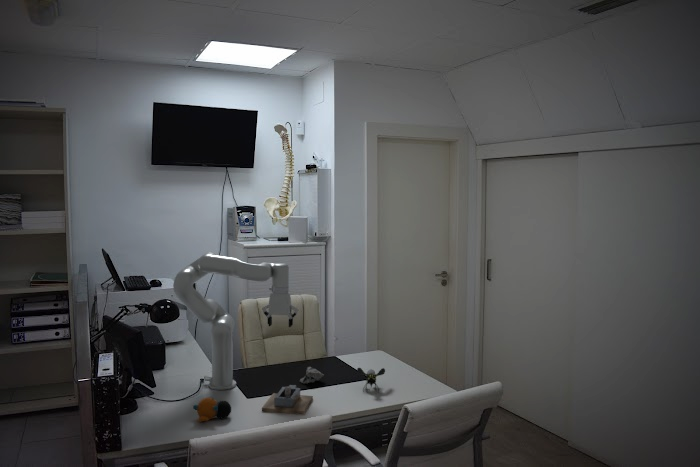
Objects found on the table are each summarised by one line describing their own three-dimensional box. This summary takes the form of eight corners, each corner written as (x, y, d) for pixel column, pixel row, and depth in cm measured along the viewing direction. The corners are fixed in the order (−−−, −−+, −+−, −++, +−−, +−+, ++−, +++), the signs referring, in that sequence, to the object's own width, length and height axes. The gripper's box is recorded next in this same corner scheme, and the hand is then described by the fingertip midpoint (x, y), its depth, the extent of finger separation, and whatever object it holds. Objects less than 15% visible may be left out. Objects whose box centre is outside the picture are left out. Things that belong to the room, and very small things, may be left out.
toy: (194, 397, 234) (231, 400, 237) (191, 422, 230) (228, 424, 234) (194, 395, 223) (233, 398, 227) (191, 421, 220) (230, 423, 223)
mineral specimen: (308, 390, 276) (313, 391, 267) (295, 379, 275) (300, 380, 266) (320, 374, 279) (325, 374, 270) (308, 363, 279) (313, 363, 269)
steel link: (292, 408, 237) (293, 399, 236) (274, 407, 238) (274, 397, 238) (301, 394, 253) (301, 385, 252) (284, 393, 254) (284, 384, 253)
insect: (356, 396, 256) (356, 374, 255) (356, 383, 272) (357, 362, 271) (385, 396, 255) (386, 375, 255) (384, 384, 272) (385, 363, 271)
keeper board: (261, 411, 237) (261, 392, 236) (273, 396, 254) (273, 378, 253) (303, 414, 234) (304, 395, 234) (312, 399, 251) (312, 381, 250)
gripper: (259, 290, 262) (259, 327, 263) (296, 292, 259) (296, 329, 261) (264, 287, 269) (264, 323, 271) (300, 289, 267) (300, 325, 268)
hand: (280, 326), depth 266 cm, fingers open, 9 cm apart
